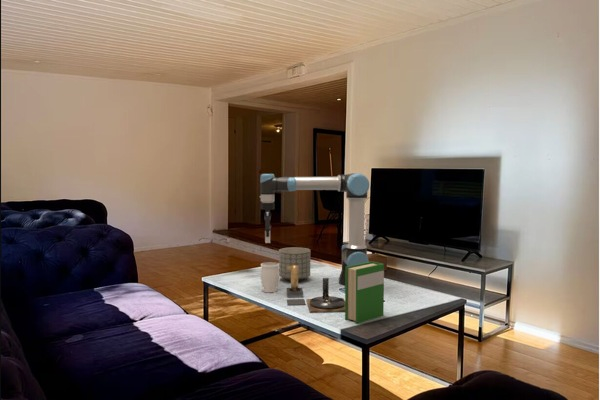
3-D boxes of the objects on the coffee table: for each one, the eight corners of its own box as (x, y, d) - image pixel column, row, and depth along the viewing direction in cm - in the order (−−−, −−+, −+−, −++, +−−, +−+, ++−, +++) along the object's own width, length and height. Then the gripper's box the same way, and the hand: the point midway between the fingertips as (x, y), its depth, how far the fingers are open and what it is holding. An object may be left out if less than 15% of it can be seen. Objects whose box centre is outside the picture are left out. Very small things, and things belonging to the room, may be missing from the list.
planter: (308, 284, 260) (308, 253, 259) (276, 283, 263) (276, 252, 262) (312, 276, 279) (312, 247, 277) (282, 275, 282) (282, 247, 280)
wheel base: (343, 300, 229) (343, 298, 229) (350, 311, 210) (350, 309, 210) (306, 300, 228) (306, 298, 228) (309, 312, 209) (309, 310, 209)
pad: (304, 299, 230) (304, 298, 230) (305, 305, 221) (305, 304, 221) (286, 300, 229) (286, 299, 229) (287, 305, 220) (287, 304, 220)
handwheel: (347, 308, 211) (347, 286, 210) (311, 309, 210) (311, 287, 209) (341, 298, 228) (341, 277, 227) (308, 298, 227) (308, 278, 226)
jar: (276, 293, 241) (276, 266, 240) (258, 292, 243) (258, 265, 242) (281, 288, 251) (281, 262, 250) (263, 287, 253) (263, 261, 252)
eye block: (301, 292, 242) (301, 287, 242) (303, 297, 234) (303, 291, 234) (286, 293, 242) (286, 287, 242) (287, 297, 233) (287, 292, 233)
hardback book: (357, 323, 194) (357, 269, 192) (345, 319, 200) (345, 266, 198) (383, 315, 205) (384, 263, 204) (371, 311, 211) (371, 261, 209)
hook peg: (298, 294, 240) (298, 264, 239) (298, 296, 236) (298, 266, 235) (286, 294, 240) (286, 265, 238) (286, 296, 236) (286, 266, 235)
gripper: (261, 200, 255) (261, 237, 257) (260, 204, 230) (260, 244, 232) (274, 200, 256) (274, 237, 257) (274, 203, 231) (274, 244, 232)
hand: (267, 240), depth 245 cm, fingers open, 13 cm apart
